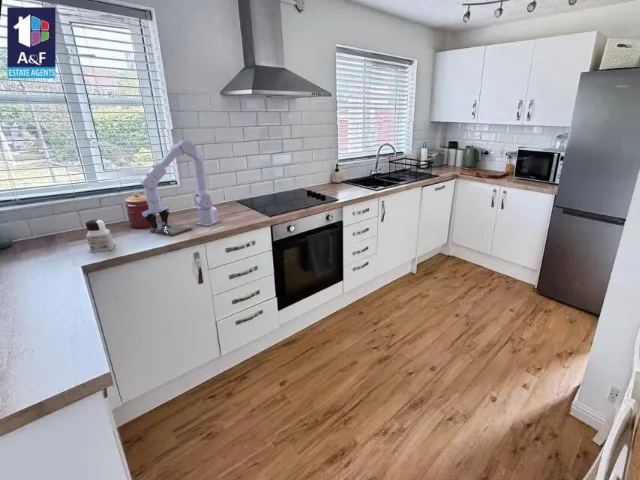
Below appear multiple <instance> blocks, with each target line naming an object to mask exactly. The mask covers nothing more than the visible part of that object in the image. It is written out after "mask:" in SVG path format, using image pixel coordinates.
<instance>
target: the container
mask: <svg viewBox="0 0 640 480" xmlns="http://www.w3.org/2000/svg"><path fill="white" fill-rule="evenodd" d="M85 226H86V230H87V234H86V236H85V238H86V241H87V243H88V247H89V249H90V252H91V253H96V252H97V253H99V252H106V251H107V252H108V251H113V248H114V246H115V243H114V239H113V236H112V234H111V231H110V229H109V228H107V227H106V225H105V221H103V220H102V219H90V220H88V221H86V222H85Z"/></svg>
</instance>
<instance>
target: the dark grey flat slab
mask: <svg viewBox="0 0 640 480" xmlns="http://www.w3.org/2000/svg"><path fill="white" fill-rule="evenodd" d="M167 225H168V226H171V228H168V227H166V228H165V229H164V230H157V229H153V228H152V229H150V233H154V234H159V235H165V236H172V237H174V236H177V235H180V234H182V233H183V234H184V233H185V232H188V231H192V227H189V226H182V225H177V224H171V223H167Z"/></svg>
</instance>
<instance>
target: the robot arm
mask: <svg viewBox="0 0 640 480" xmlns="http://www.w3.org/2000/svg"><path fill="white" fill-rule="evenodd" d="M185 155H186V156H187V157H189V158H190V159H191V160H192V166H193V175H194V183H195V192H194V194H195V196H194V199H193V200H194V203H195V204H196V205H197V209H196V210H197V214H198V219H199V222H196V225H200V226H205V227H209V226H212V225H214V224H218V223H220V222H221V221H220V220H219V215H218V210H217V208H216V207H215V206H213V200H212V199H211V196H210V193H209V191H208V188H207V187H208V186H207V179H206V171H205V164H204V163H205V162H204V156H203V154H202V153H201V151H200V150H199V148H198V147H197V145H196V144H195V143H193V142H192V141H190V140H186V139H183V138H181V139H178V140H176V142H175V143H174V144H172V145H171V147H170V149H169V150H168V151H167V153H166V154H165V155H164V157H162V160H160V162H156V163H155V164H152V165H151V169H150V170H148V172H146V173H145V175H144V176H142V178H141V180H140V184H141V185H142V186H143V190H144V194H145V196H146V199H147V202H148V206H149V210H147V211H145V212H142V215H143V216H144V217H145V218H146V219H147V220H148V221H149V222H150V224H151V226H152V227H151V228H152V229H157V225H156V218H157V215H156V216H153V215H152V214H158V216H159V217H160V220H165V224H166V225H168V220H169V215H170V211H171V208H170V206H169V205H164V206H162V202H161V199H160V193H159V191H158V186H159V182H160V181H161V179H162V178H163V177H164V176H165V175H166V174H167V172H168V170H167V168H168V167H169V166H170V165H171V163H172V162H173V161H174V160H175V159H176V158H178V157H180V156H185Z"/></svg>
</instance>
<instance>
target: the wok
mask: <svg viewBox="0 0 640 480" xmlns="http://www.w3.org/2000/svg"><path fill="white" fill-rule="evenodd" d="M156 225H157V230H164V229H165V228H166V227H168V228H171V226H168V224H167V225H166V224H165V220H161V219H157V221H156Z"/></svg>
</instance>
